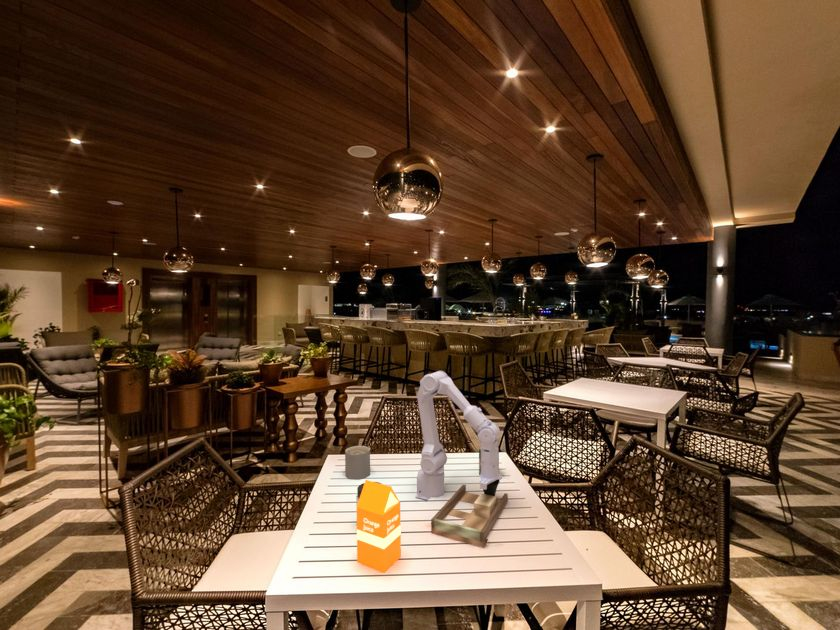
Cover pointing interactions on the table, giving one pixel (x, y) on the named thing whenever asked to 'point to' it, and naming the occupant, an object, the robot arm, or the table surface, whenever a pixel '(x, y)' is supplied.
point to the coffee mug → (357, 462)
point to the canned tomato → (480, 459)
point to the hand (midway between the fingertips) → (490, 502)
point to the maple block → (484, 506)
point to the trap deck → (473, 526)
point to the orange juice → (378, 527)
